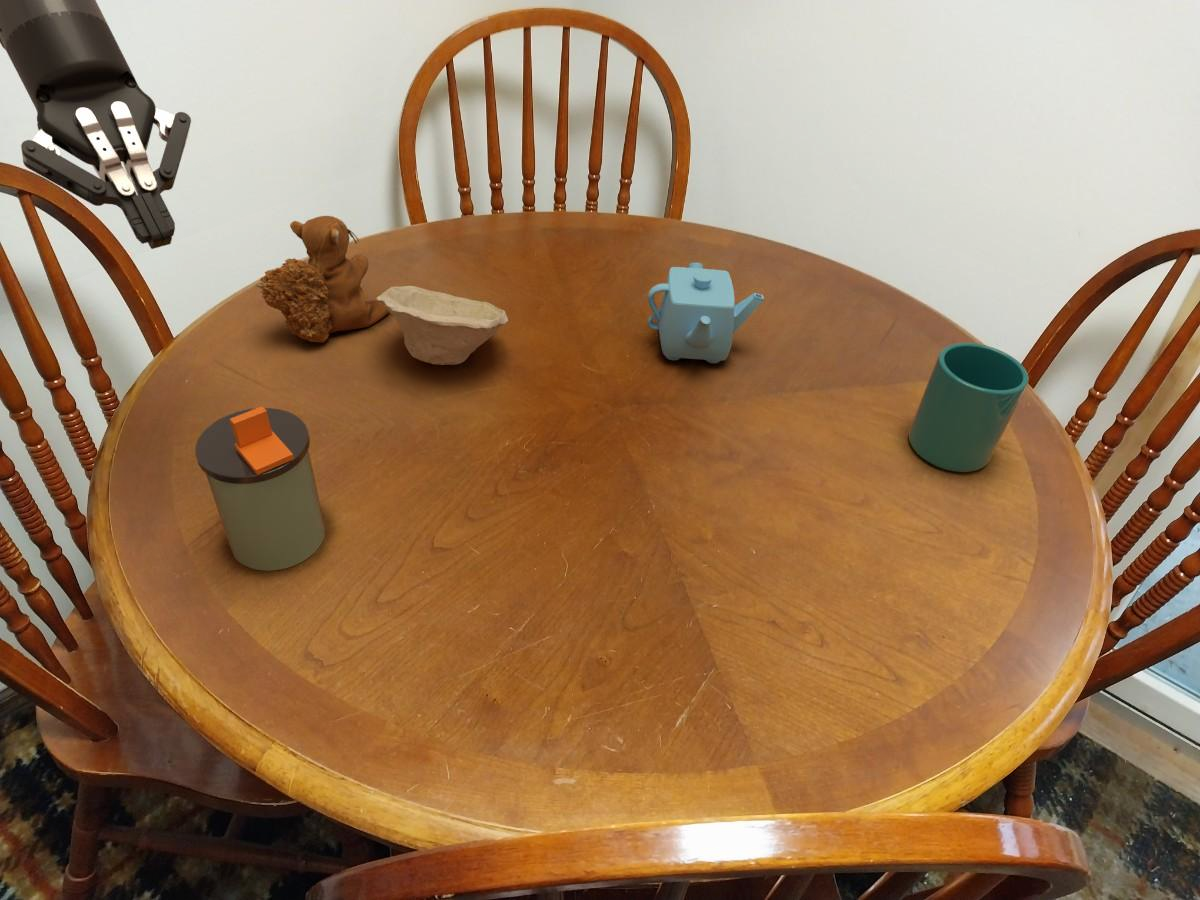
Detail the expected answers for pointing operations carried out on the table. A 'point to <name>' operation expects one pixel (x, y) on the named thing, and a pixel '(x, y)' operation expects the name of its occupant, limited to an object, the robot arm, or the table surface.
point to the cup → (967, 406)
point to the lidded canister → (264, 495)
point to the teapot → (698, 313)
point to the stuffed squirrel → (322, 284)
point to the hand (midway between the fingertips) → (162, 242)
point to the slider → (258, 441)
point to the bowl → (441, 323)
